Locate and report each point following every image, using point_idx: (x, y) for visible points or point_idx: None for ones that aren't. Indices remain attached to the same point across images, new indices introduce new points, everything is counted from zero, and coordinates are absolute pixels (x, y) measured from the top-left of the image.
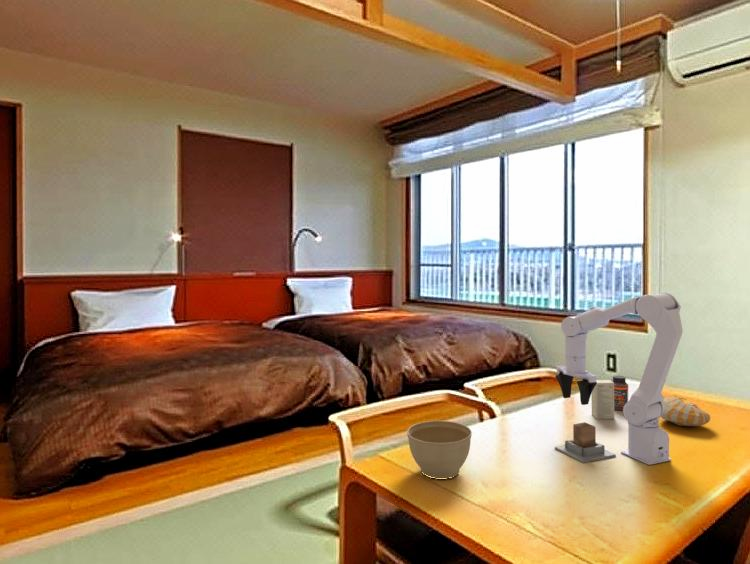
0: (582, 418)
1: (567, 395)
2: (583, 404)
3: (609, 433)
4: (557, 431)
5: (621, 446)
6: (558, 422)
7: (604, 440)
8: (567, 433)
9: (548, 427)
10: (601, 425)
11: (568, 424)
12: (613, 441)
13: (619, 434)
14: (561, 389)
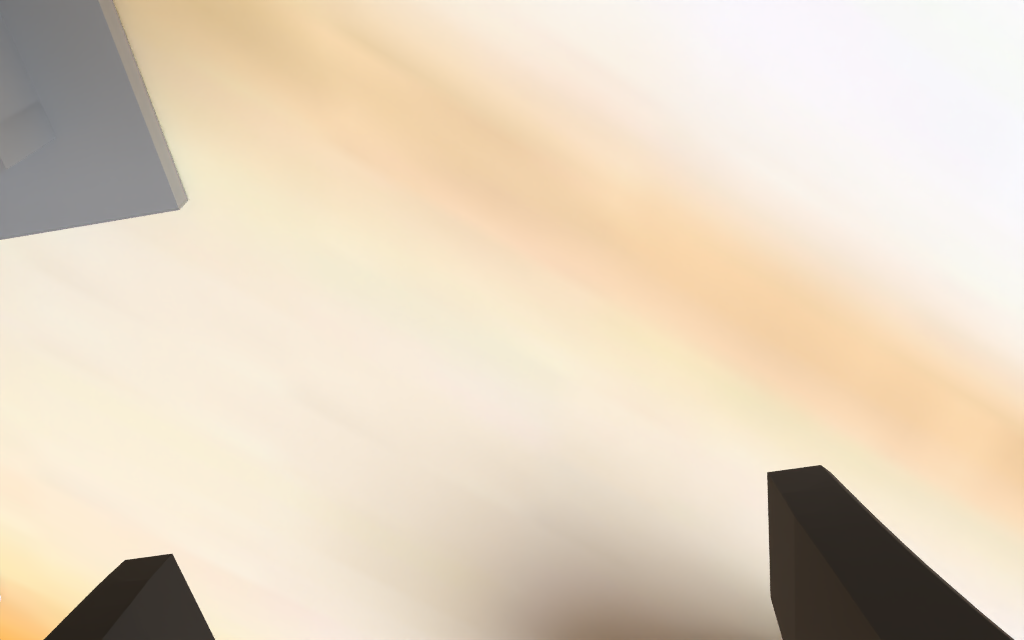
0: (954, 573)
1: (788, 587)
2: (113, 579)
3: (452, 567)
4: (688, 78)
5: (71, 480)
6: (987, 279)
7: (259, 429)
8: (573, 168)
9: (887, 40)
10: (687, 616)
11: (862, 352)
12: (221, 488)
13: (405, 623)
14: (962, 613)
